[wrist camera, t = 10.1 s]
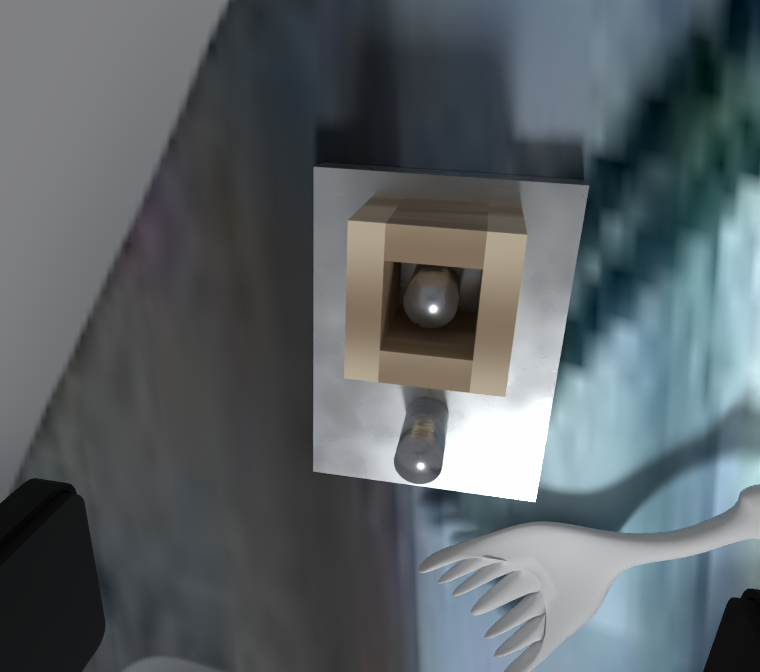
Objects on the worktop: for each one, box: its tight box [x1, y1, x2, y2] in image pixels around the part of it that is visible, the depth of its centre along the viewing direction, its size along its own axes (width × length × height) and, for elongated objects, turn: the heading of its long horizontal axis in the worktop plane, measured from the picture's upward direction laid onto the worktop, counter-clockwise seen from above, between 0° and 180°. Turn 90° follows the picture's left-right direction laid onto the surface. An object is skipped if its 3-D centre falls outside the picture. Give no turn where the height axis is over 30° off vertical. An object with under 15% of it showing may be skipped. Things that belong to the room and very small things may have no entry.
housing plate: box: [313, 162, 589, 502], centre depth 27 cm, size 15×11×6 cm
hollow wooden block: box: [344, 195, 528, 397], centre depth 24 cm, size 6×6×5 cm
